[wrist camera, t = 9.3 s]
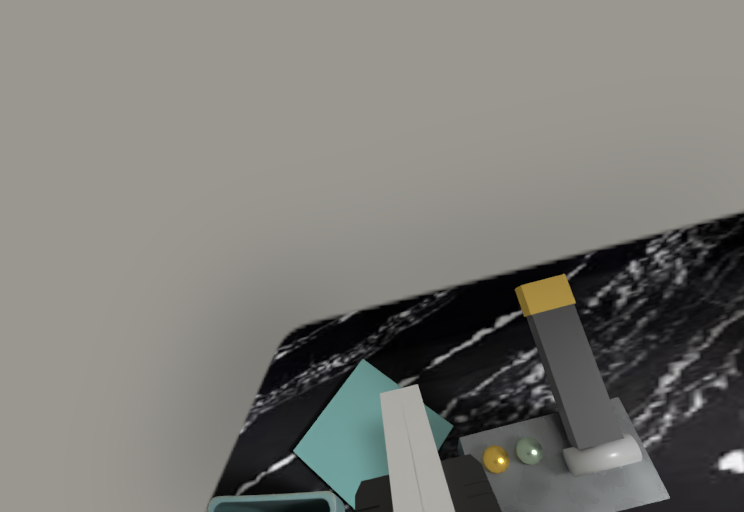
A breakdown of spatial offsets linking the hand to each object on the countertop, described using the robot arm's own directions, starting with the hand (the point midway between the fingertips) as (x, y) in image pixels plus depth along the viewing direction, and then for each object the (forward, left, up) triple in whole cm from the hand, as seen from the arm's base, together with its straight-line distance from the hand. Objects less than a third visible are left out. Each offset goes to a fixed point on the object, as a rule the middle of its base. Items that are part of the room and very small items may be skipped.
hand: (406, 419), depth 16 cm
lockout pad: (+5, +2, -22) cm, 23 cm away
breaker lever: (-9, -6, -13) cm, 17 cm away
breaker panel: (-7, -4, -22) cm, 24 cm away
